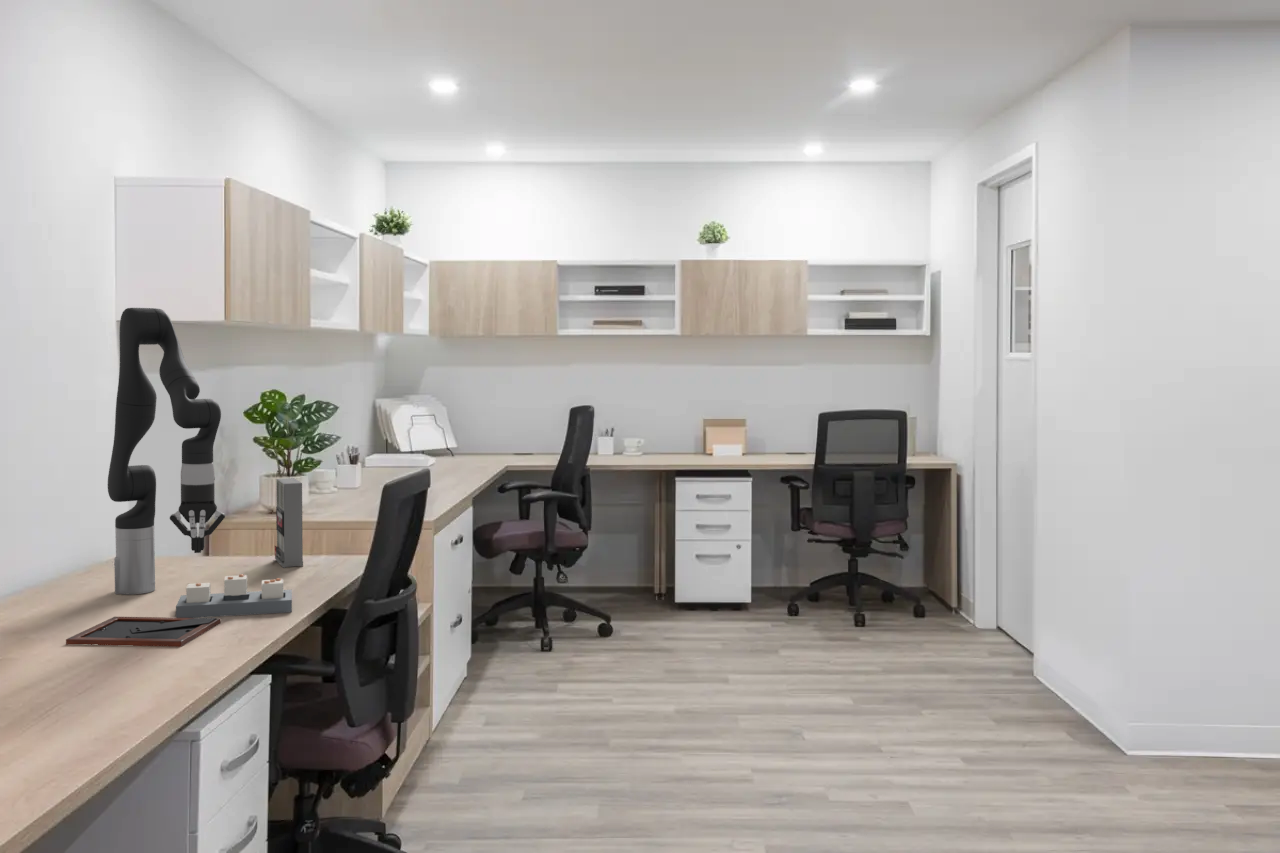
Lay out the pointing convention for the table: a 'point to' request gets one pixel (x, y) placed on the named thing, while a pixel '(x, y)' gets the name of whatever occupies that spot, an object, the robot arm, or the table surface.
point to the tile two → (235, 585)
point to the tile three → (272, 588)
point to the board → (234, 605)
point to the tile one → (198, 592)
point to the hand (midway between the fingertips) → (198, 552)
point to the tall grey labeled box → (289, 523)
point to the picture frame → (145, 631)
